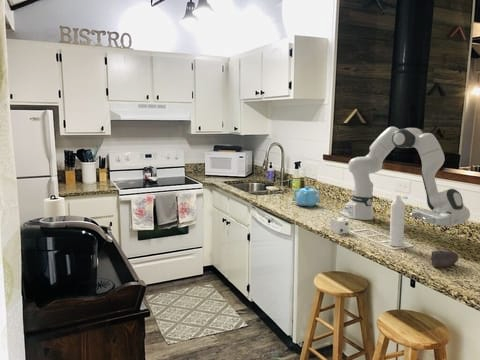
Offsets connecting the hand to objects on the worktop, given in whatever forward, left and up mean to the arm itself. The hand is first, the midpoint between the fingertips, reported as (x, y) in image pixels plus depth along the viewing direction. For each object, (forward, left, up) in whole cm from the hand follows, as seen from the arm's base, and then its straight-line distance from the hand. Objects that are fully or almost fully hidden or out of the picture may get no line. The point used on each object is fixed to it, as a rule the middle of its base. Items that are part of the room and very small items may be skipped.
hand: (417, 217), depth 192 cm
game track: (-12, -11, -14) cm, 21 cm away
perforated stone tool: (+27, -13, -14) cm, 33 cm away
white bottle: (0, -12, -13) cm, 18 cm away
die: (-30, -23, -14) cm, 40 cm away
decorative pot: (-91, -3, -14) cm, 92 cm away
